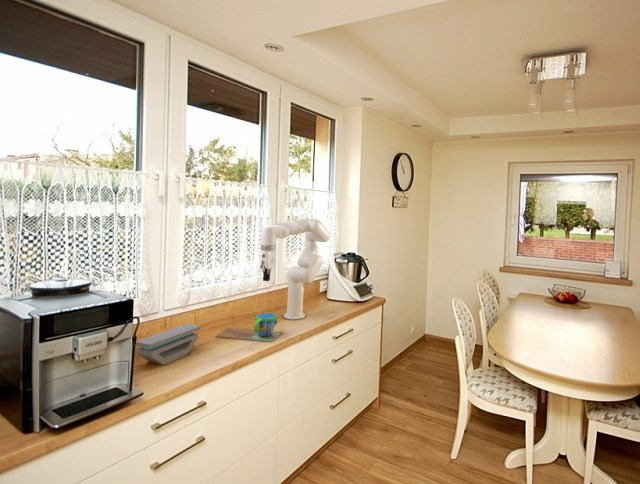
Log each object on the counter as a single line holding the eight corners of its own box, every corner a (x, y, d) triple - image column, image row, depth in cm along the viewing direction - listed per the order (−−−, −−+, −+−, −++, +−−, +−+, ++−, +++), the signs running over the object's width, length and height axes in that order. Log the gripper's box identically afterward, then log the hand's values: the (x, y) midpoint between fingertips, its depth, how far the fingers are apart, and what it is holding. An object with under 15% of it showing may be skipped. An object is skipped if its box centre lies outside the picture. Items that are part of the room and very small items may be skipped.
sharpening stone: (148, 371, 144) (149, 344, 144) (133, 367, 147) (134, 341, 146) (199, 349, 168) (200, 326, 168) (185, 346, 171) (187, 323, 170)
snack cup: (269, 328, 200) (270, 310, 200) (283, 332, 196) (284, 313, 196) (246, 336, 186) (247, 317, 186) (261, 341, 182) (262, 321, 181)
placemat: (230, 328, 198) (230, 328, 198) (281, 333, 195) (281, 332, 195) (216, 337, 185) (216, 336, 185) (270, 342, 182) (271, 341, 182)
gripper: (268, 249, 192) (266, 283, 192) (280, 247, 207) (278, 278, 207) (255, 248, 192) (253, 282, 193) (267, 246, 207) (265, 277, 208)
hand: (266, 280), depth 200 cm, fingers closed
